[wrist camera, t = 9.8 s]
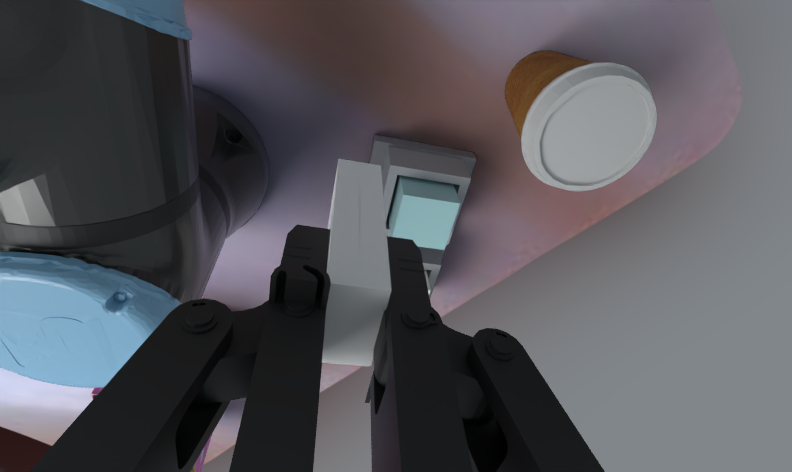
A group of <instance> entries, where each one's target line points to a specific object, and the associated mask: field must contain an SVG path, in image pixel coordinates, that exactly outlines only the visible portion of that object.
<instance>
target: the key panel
mask: <svg viewBox="0 0 792 472" xmlns="http://www.w3.org/2000/svg"><path fill="white" fill-rule="evenodd" d="M475 162H476V156H475V154H474V152H469V151H464V150H458V149H452V148H447V147H441V146H436V145H430V144H425V143H419V142H413V141H408V140H402V139H397V138H391V137H385V136H380V135H374V139H373V144H372V149H371V154H370V160H369V164H374V165H380V166H381V174H382V186H383V197H384V209H385V221H386V232H387V236H389V237H390V228H389V218H388V212H389V207H390V203H391V199H392V195H393V191H394V187H395V183H396V178H397V175H402V176H408V177H414V178H420V179H426V180H432V181H439V182H445V183H451V184H453V185H454V187H455V190H456V193H457V196H458V199H459V201H460V206H459V209H458V212H457V215H456V218H455V221H454V224H453V226H452V229H451V232H450V235H449V238H448V241H447V244H446V246H447V245H449V242H450V239H451V236H452V233H453V230H454V228H455V225H456V222H457V219H458V216H459V213H460V210H461V207H462V204H463V202H464V199H465V196H466V193H467V190H468V187H469V184H470V181H471V174H472V171H473V168H474V165H475ZM418 248H419V249H420V250H421V255H422V260H423V266H424V269H425V270H427V275H428V280H429V285H430V294H429V298H430V297H431V294H432V291H433V288H434V285H435V282H436V280H437V277H438V274H439V271H440V268H441V261H442V258H443V255H444V252H445V250H440V249H433V248H426V247H418ZM445 249H446V247H445Z"/></svg>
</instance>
